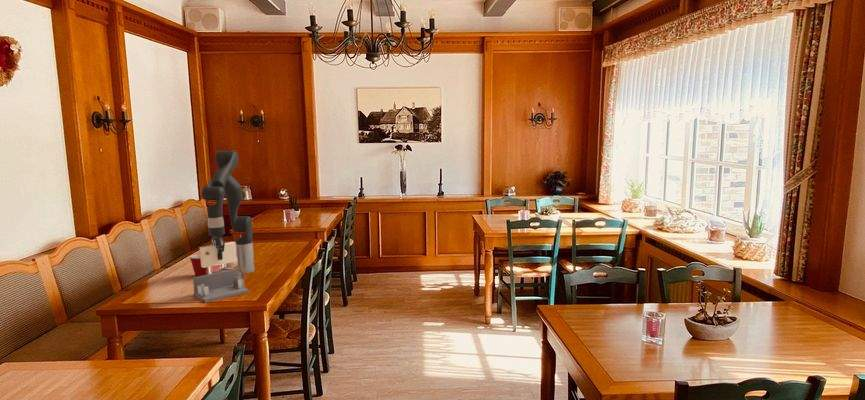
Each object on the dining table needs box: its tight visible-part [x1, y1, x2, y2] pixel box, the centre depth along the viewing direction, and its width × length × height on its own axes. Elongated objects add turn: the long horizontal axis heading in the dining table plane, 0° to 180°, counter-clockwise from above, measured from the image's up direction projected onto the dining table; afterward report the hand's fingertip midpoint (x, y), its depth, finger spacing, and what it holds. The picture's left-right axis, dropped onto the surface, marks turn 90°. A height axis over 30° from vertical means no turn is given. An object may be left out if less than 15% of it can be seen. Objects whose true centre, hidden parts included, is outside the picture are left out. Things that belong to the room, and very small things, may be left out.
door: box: [198, 241, 237, 268], centre depth 266 cm, size 4×17×10 cm, turn 132°
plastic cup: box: [188, 253, 208, 277], centre depth 304 cm, size 11×11×12 cm
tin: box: [217, 266, 247, 280], centre depth 289 cm, size 15×3×8 cm, turn 84°
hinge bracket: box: [192, 269, 250, 303], centre depth 268 cm, size 16×22×10 cm
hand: (218, 258), depth 266 cm, fingers closed on door, 3 cm apart
